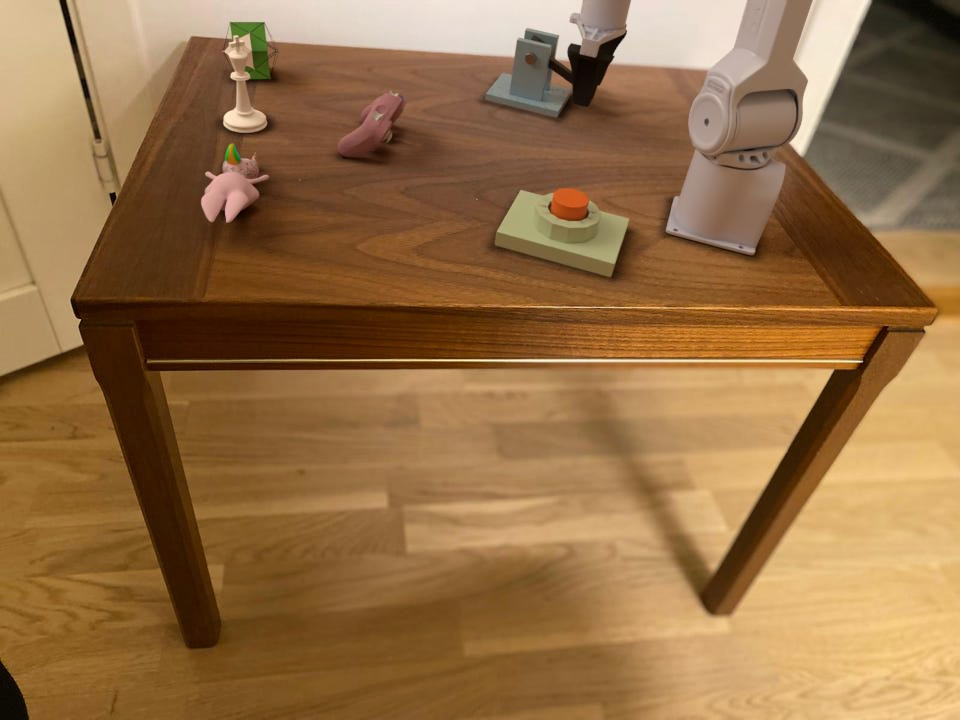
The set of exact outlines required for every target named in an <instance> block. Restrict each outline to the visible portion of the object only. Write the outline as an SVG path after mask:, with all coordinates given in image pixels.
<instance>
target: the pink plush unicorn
mask: <svg viewBox="0 0 960 720" xmlns="http://www.w3.org/2000/svg"><path fill="white" fill-rule="evenodd" d="M256 153H257V152H256V151H255V152H254V155H253V156H252V157H251V159H250V158H242V156H241V155H240V154H239V151H238V150H237V147H236V145H235V144H234V143H230V144H228V147H227V149H226V152H225V155H224V161H223V162H222V163H223V164H222V172H223V173H219V174H218V175H214V174H213V173H212V172H211V171H206V172H205V173H204V174H205V176H206V177H207V178H208V179H210V180H212V181H211V182H210V183H209V185H207V187H205V189H204V195H203V196H202V197H201V199H200V204H201V209H202V211H203V213H204V216H205V217H206V219H207V220H208V222H210V223H214V222H215V221H216V218H217V217H218V215H219V214H220V211H224V216H225V222H226V224H230V223H232V222H233V221H234V219H235V218H236V217H237V216H238V215H239V213H240V212H241V211H243V210H245V209H246V208H248V207H249V206H250V205H251V204H253V203H254V202H255V201H257V200H258V199H259V197H260V192H259V190H258V189H257V188H256V187H255V186H254V185H255V184H258V183H262V182H266V181H267V180H269V179H270V176H269V175H268V174H263V175H261V176H259V173H260V169H259V167H261V165H260V162H259V160H258V157H257V155H256ZM258 176H259V177H258Z"/></svg>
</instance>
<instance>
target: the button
mask: <svg viewBox="0 0 960 720" xmlns="http://www.w3.org/2000/svg"><path fill="white" fill-rule="evenodd" d="M553 193H554V194H553V199H552V203H551V208H550V211H551V213H552V214H553V215H554V216H556V217H557V218H559V219H563V220H567V221H581V220H583V219H584V218H585V216H586V212H587V208H588V204H589V200H590V198H589V197H588V196H587V194H586V193H584V192H583V191H580V190H579V189H574V188H570V187H565V188H564V187H563V188H559V189H556V190H555V191H554V192H553Z"/></svg>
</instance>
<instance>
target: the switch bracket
mask: <svg viewBox="0 0 960 720" xmlns="http://www.w3.org/2000/svg"><path fill="white" fill-rule="evenodd" d="M534 35H535V36H537V37H538V38H539V39H541V40H542V41H543V42H545V43H546V44H545V43H541V42H536V41H532V40H530V39H531V38H532V37H533V36H534ZM559 38H560V35H559V34H555V33H551V32H547V31H542V30H538V29H533V28H529V27H527V28H526V29H525V30H524V35H523V37H518V38H517V39H516V44H515V50H514V57H513V65H512V72H511V74H510V73H506V72H502V73H501V74H500V76H499V77H498V78H497V79H496V80H495V82H494V83H493V84H492V85H491V86H490V88H489V89H488V90H487V91H486V93H485V95H484V96H485V97H484V100H485V101H489V102H493V103H496V104H501V105H505V106H509V107H512V108H517V109H521V110H525V111H529V112H533V113H537V114H541V115H546V116H549V117H553V118H559V116H560V114H561V112H562V111H563V109H564V107H565V106H566V103H567V102H568V100H569V99H570V97H571V95H572V88H568V87H565V86H561V85H556V84H552V79H553V73H554V71H553V70H552V69H550V68H549V67H548V65H549V60H550V55H551V56H552V57H553V58H555V59H556V55H557V50H558V45H559Z"/></svg>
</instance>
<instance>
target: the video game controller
mask: <svg viewBox="0 0 960 720" xmlns="http://www.w3.org/2000/svg"><path fill="white" fill-rule="evenodd" d="M407 102H408V100H407V98H405V97H404V96H403V95H401V94H399V93H398V92H396V93H395V92H393V91H392V90H391V89H390V90H389V91H388V92H386V93H384V94H383V95H379V96H378V97H377V98H375V99H374V100H373V102H372V103H371V104H369V105H367V106H366V107H365V108H364V109H363V110H362V112H361V114H360V120H361V122H362V124H361V125H360V126H358V128H356V129H354V130H353V131H351V132H349V133H348V134H345V135H344V136H343V137H341V139H340V140H339V141H338V143H337V151H338V153H339V155H341V156H342V157H345V158H357V157H360V156H363V155H365V154H367V153H368V152H370V151H371V152H373V153H375V152H376V150H377V149H378V147H379V146H380V144H381V143H382V142H385V143H386V144H387V143H389V142H390V141H391V139H392V138H393V133H392V130H391V128H392V127H393V125H394V123H395V122H396V121H397V120H398V119H399V118H400V117H401V116H402V114H403V112H404V108H405V106H406V104H407Z"/></svg>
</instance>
